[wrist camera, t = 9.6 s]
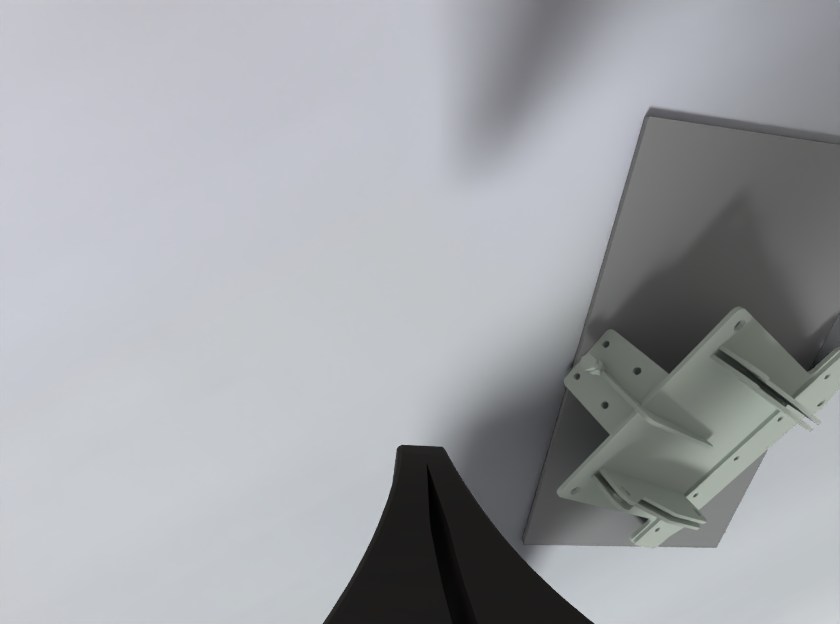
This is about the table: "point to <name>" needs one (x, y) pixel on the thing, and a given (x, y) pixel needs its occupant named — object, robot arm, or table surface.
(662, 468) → the metal bracket
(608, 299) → the rubber mat
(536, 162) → the table surface
